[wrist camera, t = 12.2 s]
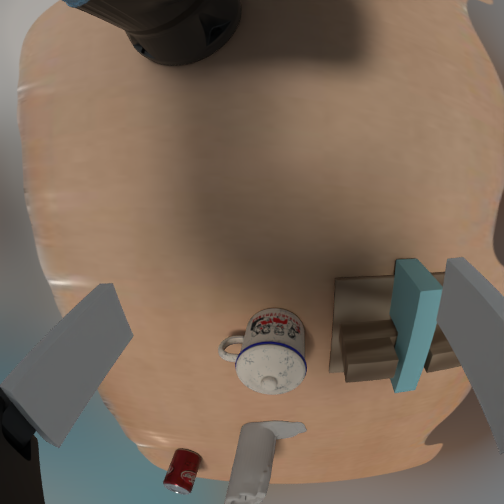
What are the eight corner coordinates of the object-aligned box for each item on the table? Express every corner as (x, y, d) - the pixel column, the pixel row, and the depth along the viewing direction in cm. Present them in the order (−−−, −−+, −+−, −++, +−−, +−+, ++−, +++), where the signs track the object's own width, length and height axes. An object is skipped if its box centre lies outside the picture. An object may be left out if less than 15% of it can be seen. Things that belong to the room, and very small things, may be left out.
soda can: (198, 450, 60) (186, 487, 48) (204, 462, 62) (193, 497, 51) (172, 445, 61) (158, 480, 50) (179, 458, 63) (167, 491, 52)
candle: (308, 434, 51) (305, 515, 33) (247, 440, 55) (231, 515, 36) (302, 416, 49) (298, 505, 31) (236, 423, 52) (216, 504, 34)
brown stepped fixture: (335, 277, 38) (345, 317, 29) (458, 270, 35) (491, 302, 26) (328, 369, 44) (332, 414, 35) (435, 358, 41) (454, 396, 32)
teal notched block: (396, 259, 35) (420, 291, 27) (416, 258, 35) (444, 289, 26) (381, 352, 41) (394, 393, 32) (399, 350, 40) (415, 389, 32)
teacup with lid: (308, 307, 40) (311, 362, 30) (302, 355, 44) (301, 411, 33) (225, 301, 42) (203, 352, 31) (227, 349, 45) (210, 402, 34)
